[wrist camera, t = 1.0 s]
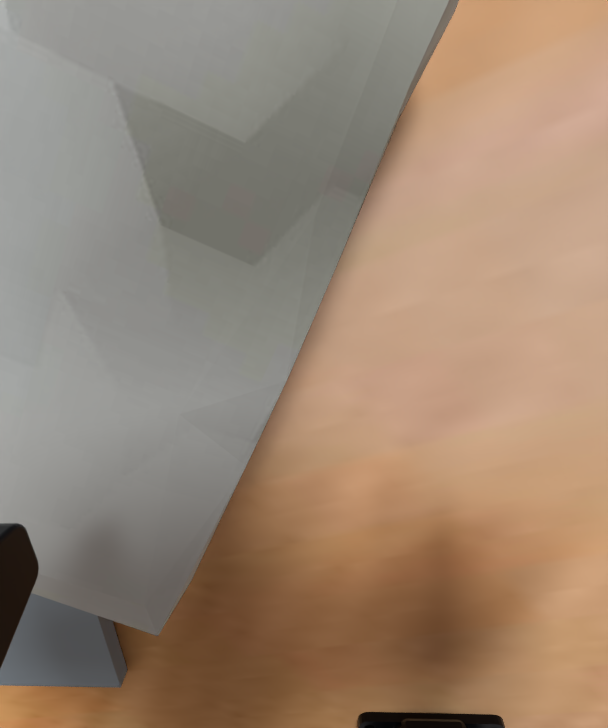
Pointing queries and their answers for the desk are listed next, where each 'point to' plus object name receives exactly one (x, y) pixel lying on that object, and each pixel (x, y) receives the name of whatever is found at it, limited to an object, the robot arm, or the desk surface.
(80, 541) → the light grey block
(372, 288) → the desk surface
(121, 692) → the desk surface
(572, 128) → the desk surface
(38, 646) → the mat
